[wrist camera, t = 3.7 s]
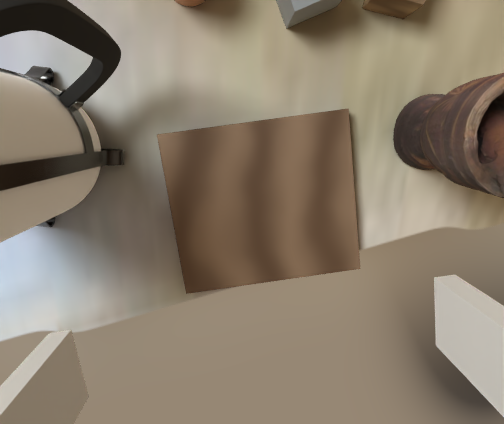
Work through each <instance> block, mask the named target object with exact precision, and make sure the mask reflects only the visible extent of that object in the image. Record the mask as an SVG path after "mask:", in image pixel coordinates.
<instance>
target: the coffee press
mask: <svg viewBox="0 0 504 424" xmlns="http://www.w3.org/2000/svg"><path fill="white" fill-rule="evenodd" d="M27 30H36V31H42V32H46V33H48V34H50V35H53V36H55V37H57V38H59V39H61V40H62V41H64V42H66V43H68V44H70V45H72V46H74V47H76V48H78V49H79V50H81V51H83V52H85V53H87V54H89V55H91V56H92V57H93V59H92V62H91V64H90V66H89V67H88V69H87V70H86V71H85V72H84V73H83V74H82V75H81V76H80V77H79V78H78V79H77V80H76V81H75V82H74V83H73V84H72V85H71V86H70V87H69V88H68V89H67V90H63V91H60V90H58V89H56V88H54V87H52V84H53V82H54V74H53V71H52V69H51V68H48V67H39V66H32V67H31V69H30V70H29V71H28V72H27V73H26V74H25V75H23V74H20V73H16V72H12V71H9V70H5V69H1V68H0V242H2V241H4V240H6V239H9V238H11V237H13V236H15V235H17V234H19V233H21V232H23V231H26V230H28V229H30V228H32V227H34V226H44V227H52V226H53V225H54V222H55V216H57V215H59V214H61V213H63V212H65V211H67V210H69V209H71V208H73V207H74V206H76V205H77V204H78V203H80V202H81V201H82V200H83V199H84V198H85V197H86V196H87V195H88V194H89V192H90V191H91V190H92V188H93V186H94V185H95V183H96V180H97V178H98V175H99V171H100V167H101V166H104V165H124V151H123V150H114V149H101V146H100V141H99V137H98V134H97V131H96V129H95V127H94V125H93V123H92V121H91V119H90V118H89V116H88V115H87V114H86V112H85V111H84V110H83V109H82V108H81V107H82V106H83V104H84V102H85V101H86V100H87V99H88V98H89V97H90V96H92V95H93V94H94V93H95V92H96V91H97V90H98V89H99V88H100V87H101V86H102V85H103V84H104V83H105V82H106V81H107V80H108V78H109V77H110V76H111V75H112V74H113V72H114V71H115V69H116V68H117V66H118V64H119V62H120V58H121V50H120V48H119V46H118V45H117V44H116V42H115V41H114V40H113V39H112V38H111V36H110V35H109V34H108V33H107V32H106V31H105V30H104V29H103V28H102V27H101V26H100V25H98V24H97V23H96V22H95V21H94V20H92V19H91V18H90V17H89V16H87V15H86V14H85V13H83V12H82V11H81V10H80V9H78V8H77V7H76V6H74V5H73V4H72V3H70V2H69V1H67V0H0V37H2V36H4V35H7V34H11V33H14V32H19V31H27ZM26 78H29V79H26ZM30 79H31V80H30Z"/></svg>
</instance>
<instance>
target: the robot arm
mask: <svg viewBox="0 0 504 424" xmlns="http://www.w3.org/2000/svg"><path fill="white" fill-rule="evenodd" d="M434 292H435V328H436V346H437V347H438V348H439V349H440V350H441V351H442V352H443V353H444V354H445V356H446V357H447V358H448V359H449V360H450V361H451V362H452V363H453V364H454V365H455V366H456V367H457V368H458V369H459V370H460V371H461V372H462V373H463V375H464V376H465V377H466V378H467V379H468V380H469V381H470V382H471V383H472V384H473V385H474V386H475V387H476V388H477V389H478V390H479V391H480V393H481V394H482V395H483V396H484V397H485V398H486V399H487V400H488V401H489V402H490V403H491V404H492V405H493V406H494V407H495V408H496V409H497V411H499V413H500V414H501V415H502V416H503V417H504V306H503V305H501V304H500V303H498V302H497V301H495V300H494V299H492V298H491V297H489V296H487V295H486V294H484V293H483V292H481V291H480V290H478V289H477V288H475V287H473V286H472V285H470V284H468V283H467V282H466V281H464V280H462V279H461V278H460V277H458V276H456V275H448V276H442V277H434ZM88 397H89V396H88V392H87V388H86V384H85V380H84V377H83V373H82V369H81V365H80V361H79V358H78V354H77V350H76V347H75V342H74V339H73V335H72V331H71V330H66V331H59V332H52V333H49V334H48V335H47V336H46V337H45V338H44V339H43V341H42V342H41V343H40V344H39V345H38V346H37V347H36V348H35V349H34V350H33V351H32V353H31V354H30V355H29V356H28V357H27V358H26V359H25V360H24V361H23V362H22V363H21V364H20V365H19V367H18V368H17V369H16V370H15V371H14V372H13V373H12V374H11V375H10V376H9V378H8V379H7V380H6V381H5V382H4V383H3V384H2V385H1V386H0V424H74V422H75V420H76V419H77V417H78V415H79V413H80V411H81V410H82V408H83V406H84V404H85V402H86V401H87V399H88Z"/></svg>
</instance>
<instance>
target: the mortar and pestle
mask: <svg viewBox="0 0 504 424" xmlns="http://www.w3.org/2000/svg"><path fill="white" fill-rule="evenodd" d="M393 140H394V147H395V150H396V152H397V153H398V155H399V157H400V158H401V159H402V160H403V161H404V162H405V163H407V164H408V165H410V166H413V167H415V168H419V169H423V170H429V169H437V170H438V171H440V172H441V173H443V174H444V175H445V176H446V177H447V178H448V179H450V180H451V181H453V182H454V183H457V184H459V185H462V186H465V187H469V188H472V189H475V190H480V191H482V192H485V193H488V194H492V195H495V196H498V197H502V198H504V73H502V74H498V75H493V76H488V77H483V78H480V79H476V80H473V81H470V82H468V83H466V84H463V85H461V86H459V87H457V88H455V89H453V90H452V91H450V92H449V93H448V94H446V95H443V94H428V95H424V96H420V97H418V98H416V99H414V100H412V101H411V102H409V103H408V104H407V105H406V106H405V107H404V108H403V110H402V111H401V113H400V114H399V116H398V118H397V120H396V124H395V128H394V139H393Z"/></svg>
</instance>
